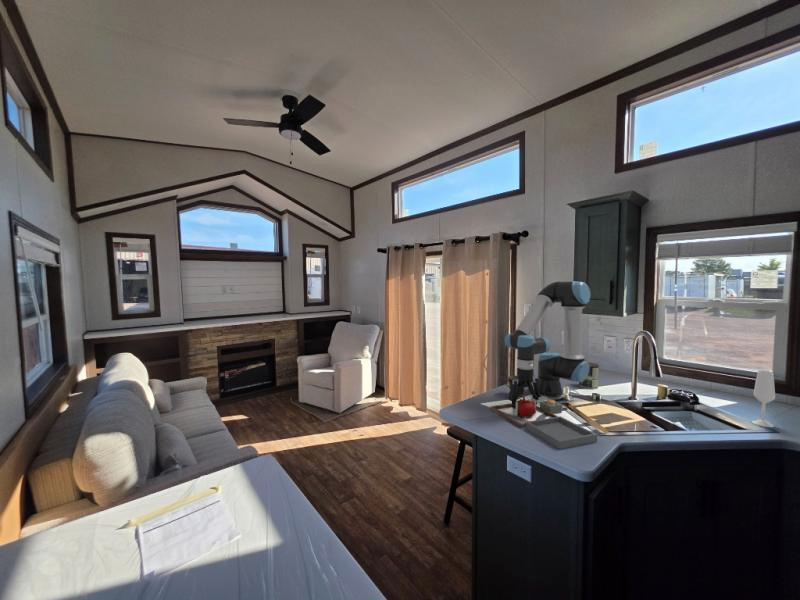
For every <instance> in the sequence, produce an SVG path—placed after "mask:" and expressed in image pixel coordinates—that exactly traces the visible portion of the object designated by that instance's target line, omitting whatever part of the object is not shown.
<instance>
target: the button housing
mask: <svg viewBox="0 0 800 600" xmlns="http://www.w3.org/2000/svg"><path fill="white" fill-rule="evenodd" d="M546 402H547V400H543V401H539V407H540V408H542V409H544V410H546V411H548V412H550V413H552V414H554V415H556V414H561V413H563V411H562V410H563V409H562V408H563V405H562V404H561V403H559V402H557V401H555V405H548V404H546Z"/></svg>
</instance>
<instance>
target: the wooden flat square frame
mask: <svg viewBox="0 0 800 600" xmlns="http://www.w3.org/2000/svg"><path fill="white" fill-rule="evenodd" d="M508 408H512V402H511V403H507V404H506V403H505V404H499V405H498V404H497V405H491V406H489V410H490V411H492V412H493V413H495V414H496V415H499V416H500V417H502V418H503V419H505V420H507V421H508V422H510V423H511V424H513V425H514V426H516V427H518V428H519V429H526V422H523V423H521V422H519V421H517V420H516V419H514V418H512V417H510V416H509V415H507V414H506V413H504V412H502V411H501V409H508ZM536 411H539V412H540V413H543V414H544V415H546V416H548V417H549V418H553V417H559V416H558V415H556V414H552V413H550V412H548V411H546V410H544V409H542V408H540V406H538V405H537V406H536Z"/></svg>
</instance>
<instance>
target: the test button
mask: <svg viewBox="0 0 800 600" xmlns="http://www.w3.org/2000/svg"><path fill="white" fill-rule="evenodd" d="M546 401H547V402H546V404H548V405H555V402H556V400H554V399H551V398H548V399H546Z"/></svg>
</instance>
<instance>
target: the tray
mask: <svg viewBox="0 0 800 600" xmlns="http://www.w3.org/2000/svg"><path fill="white" fill-rule="evenodd" d="M525 423H526V427H525V429H526V430H527V431H529V432H531V433H532V434H534V436H537V437H539V438H540V439H542V440H544V441H545V442H547V443H548V444H550V445H552V447H553V446H554V447H555V448H557V449H559V450H562V449H563V450H564V449H568V448H572V447H573V448H574V447H577V446H578V447H579V446H582V445H588V444H593V443H597V442H598V434H597V433H596V432H593V431H591V430H589V429H587V428H585V427H583V426H581V425H579V424H578V423H577V424H576V423H574V422H573V421H571V420H568V419H567V418H564V417H563V416H558V417H553V418H552V417H547V418H541V419H536V420H535V419H534V420H530V421H525Z"/></svg>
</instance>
